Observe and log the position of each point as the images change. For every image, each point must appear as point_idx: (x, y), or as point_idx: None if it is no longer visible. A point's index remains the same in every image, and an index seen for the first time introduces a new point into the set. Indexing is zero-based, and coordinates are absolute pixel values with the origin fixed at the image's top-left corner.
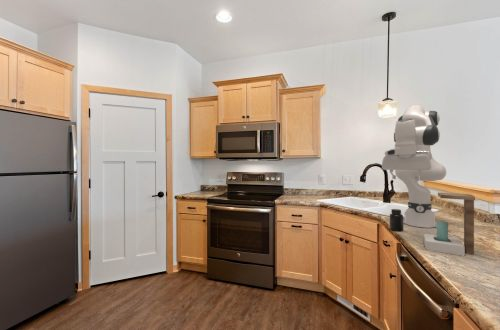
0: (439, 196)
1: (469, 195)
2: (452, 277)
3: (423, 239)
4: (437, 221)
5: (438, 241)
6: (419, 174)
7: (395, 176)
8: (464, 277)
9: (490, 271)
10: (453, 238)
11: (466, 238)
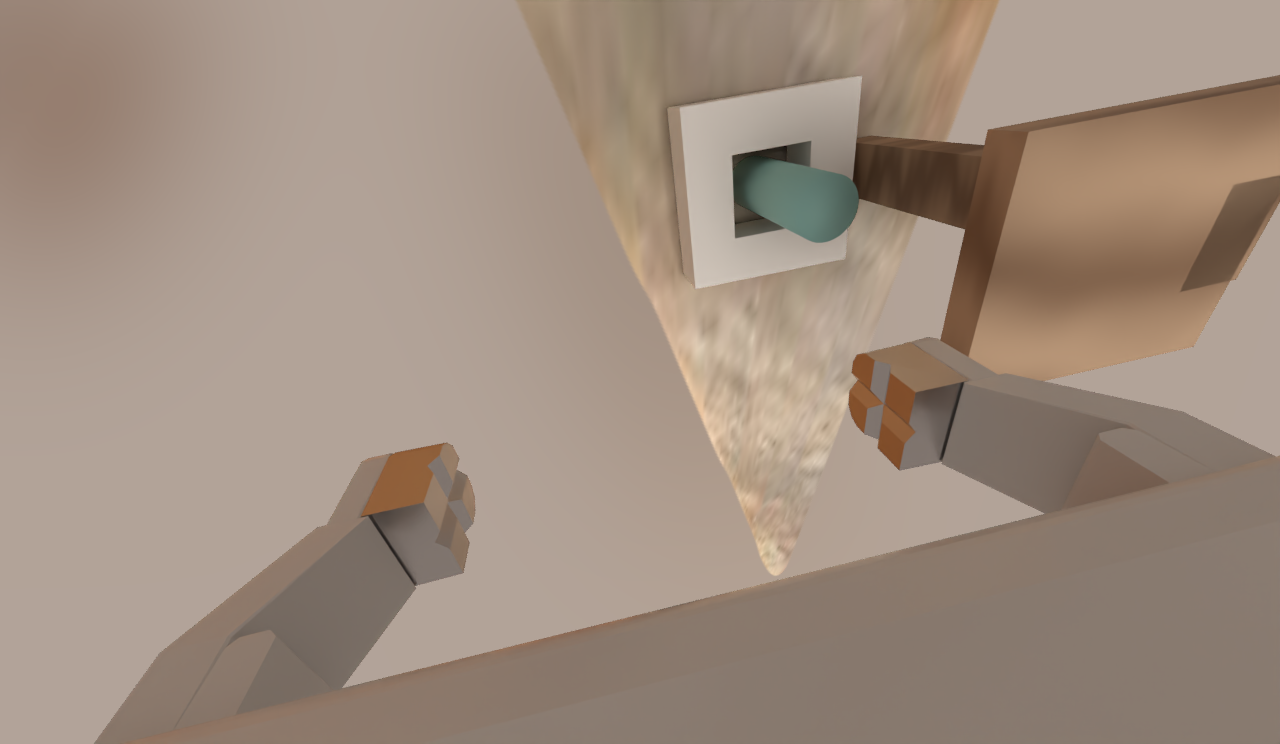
0: (956, 285)
1: (1212, 273)
2: (747, 475)
3: (671, 119)
4: (800, 213)
5: (750, 253)
6: (1015, 482)
7: (461, 549)
8: (774, 455)
9: None
10: (833, 111)
11: (885, 205)
